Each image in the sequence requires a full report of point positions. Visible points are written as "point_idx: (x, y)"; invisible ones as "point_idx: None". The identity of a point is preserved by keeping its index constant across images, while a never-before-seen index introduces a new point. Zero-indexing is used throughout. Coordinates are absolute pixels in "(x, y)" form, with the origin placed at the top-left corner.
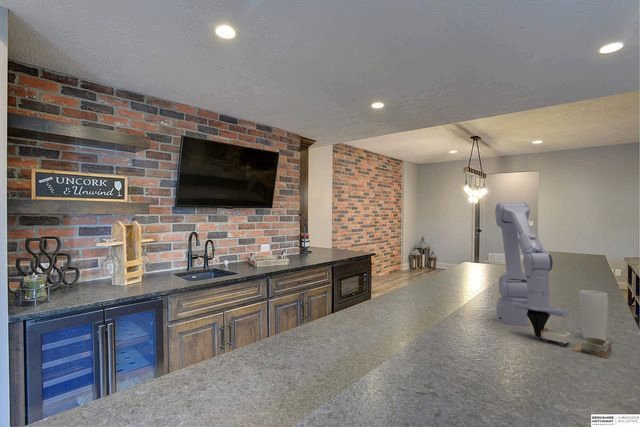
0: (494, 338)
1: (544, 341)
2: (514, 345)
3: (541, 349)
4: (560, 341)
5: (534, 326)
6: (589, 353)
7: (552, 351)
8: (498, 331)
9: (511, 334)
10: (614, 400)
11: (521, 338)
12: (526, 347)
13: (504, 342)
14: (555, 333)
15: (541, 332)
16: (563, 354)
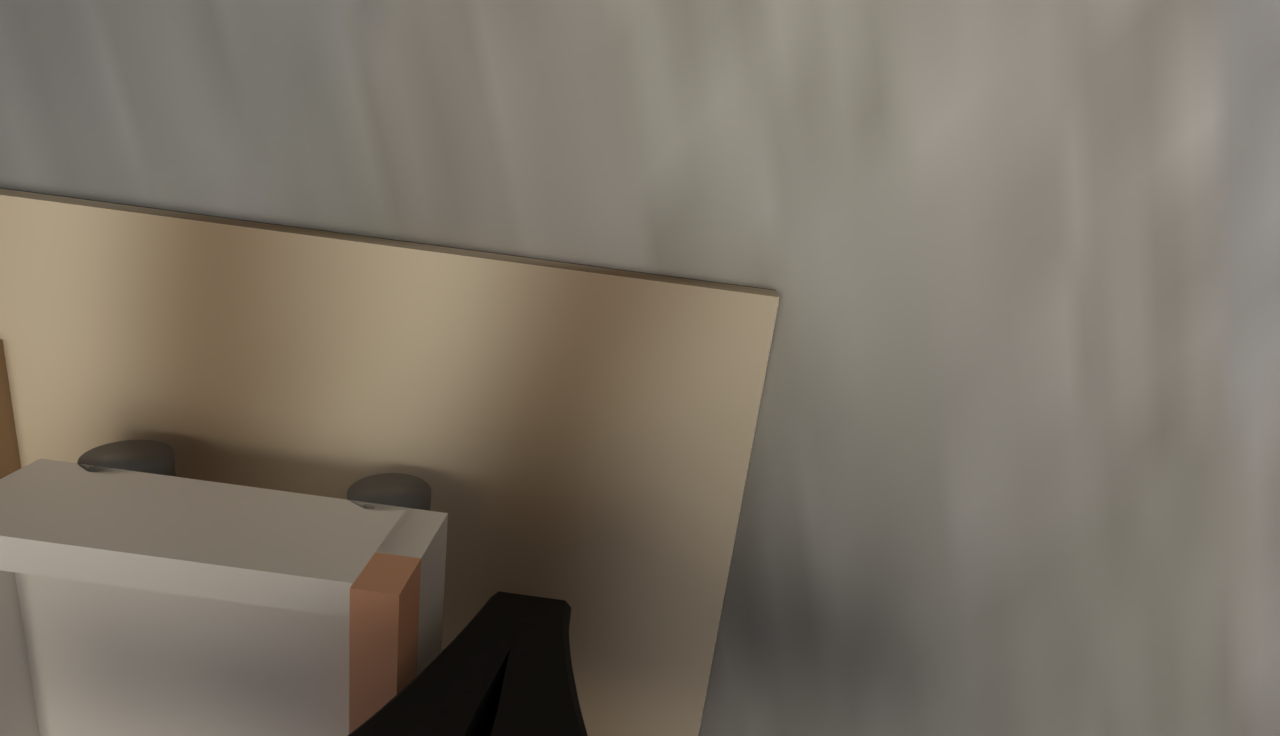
0: (1247, 214)
1: (411, 480)
2: (848, 29)
3: (412, 165)
4: (112, 473)
5: (541, 718)
6: None
7: (253, 191)
8: (1185, 694)
9: (968, 669)
10: None
11: (797, 562)
12: (639, 78)
13: (1044, 85)
14: None
15: (399, 571)
16: (87, 155)
